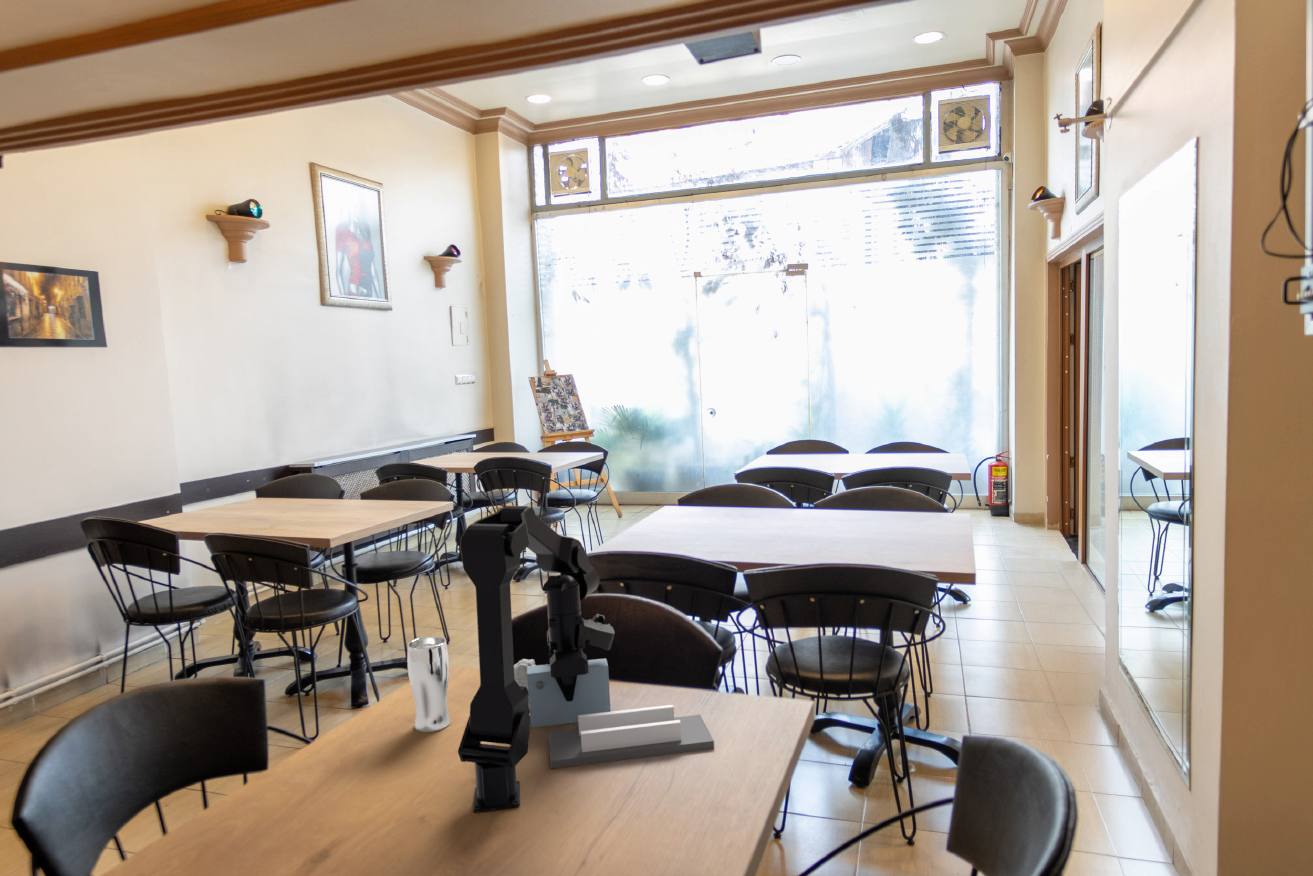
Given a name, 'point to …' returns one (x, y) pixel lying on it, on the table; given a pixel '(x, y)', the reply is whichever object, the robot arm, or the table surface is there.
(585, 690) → the door
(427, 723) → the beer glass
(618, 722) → the hinge frame
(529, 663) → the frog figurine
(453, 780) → the table surface
